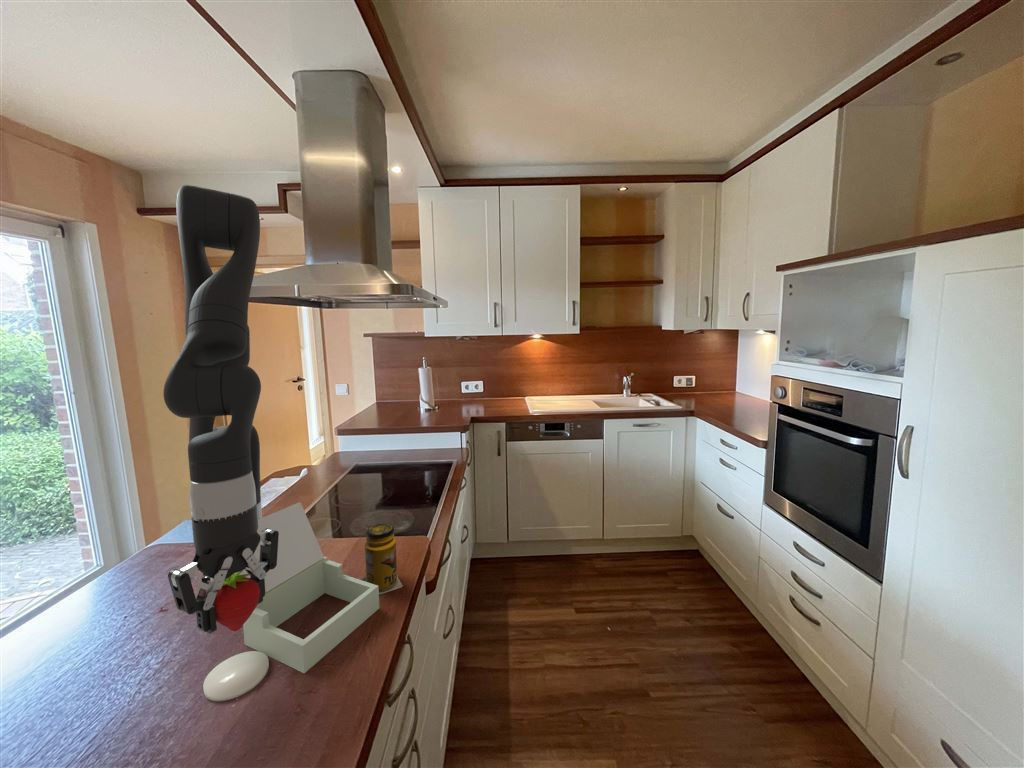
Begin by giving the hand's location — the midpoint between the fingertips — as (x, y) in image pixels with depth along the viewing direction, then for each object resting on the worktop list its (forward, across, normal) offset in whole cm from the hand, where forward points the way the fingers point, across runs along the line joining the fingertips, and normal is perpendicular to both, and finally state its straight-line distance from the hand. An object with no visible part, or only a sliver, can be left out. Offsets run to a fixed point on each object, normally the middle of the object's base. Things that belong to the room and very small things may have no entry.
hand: (233, 615), depth 58 cm
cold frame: (+10, -12, -2) cm, 16 cm away
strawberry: (+3, 0, 0) cm, 3 cm away
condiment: (+10, -26, +3) cm, 28 cm away
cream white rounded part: (+10, 0, 0) cm, 10 cm away
